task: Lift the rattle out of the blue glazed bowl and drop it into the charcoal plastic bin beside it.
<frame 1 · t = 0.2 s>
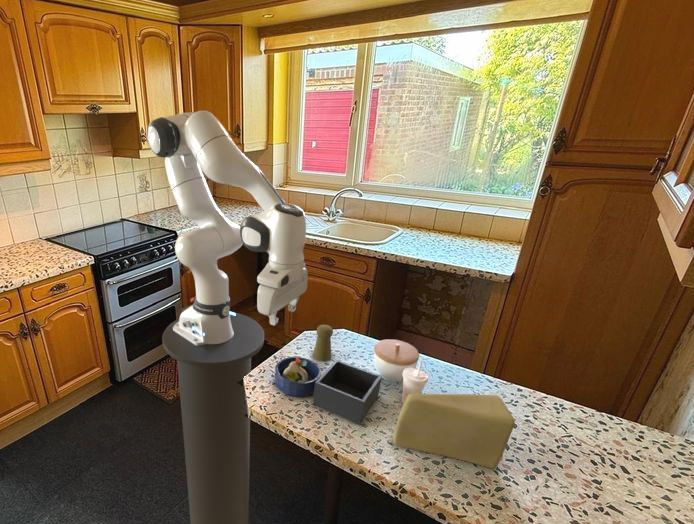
hand: (282, 317, 108), 23 cm above the countertop, tool pointing down, fingers open, 8 cm apart
bin: (345, 401, 112), on the countertop
lidded bowl: (391, 375, 123), on the countertop
smoothie: (408, 403, 111), on the countertop
rattle: (296, 382, 119), resting on toy bowl
toy bowl: (296, 383, 119), on the countertop
cheese: (440, 449, 96), on the countertop
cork: (322, 356, 132), on the countertop
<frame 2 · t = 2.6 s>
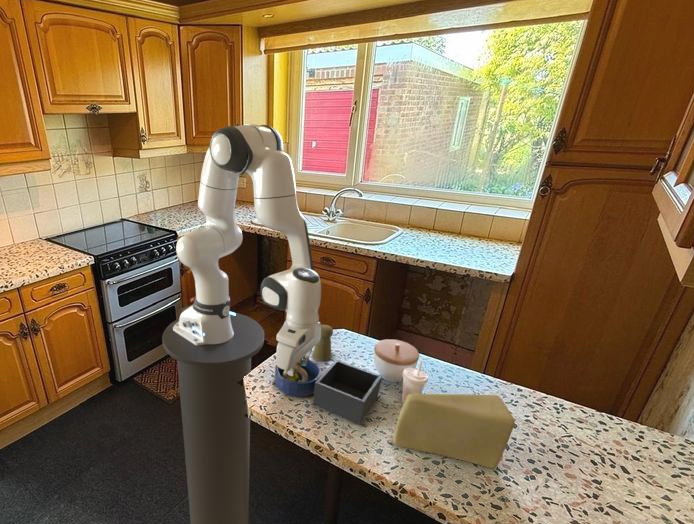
hand: (298, 367, 117), 6 cm above the countertop, tool pointing down, fingers open, 7 cm apart
rattle: (296, 382, 119), resting on toy bowl, touching gripper
everything else where it was.
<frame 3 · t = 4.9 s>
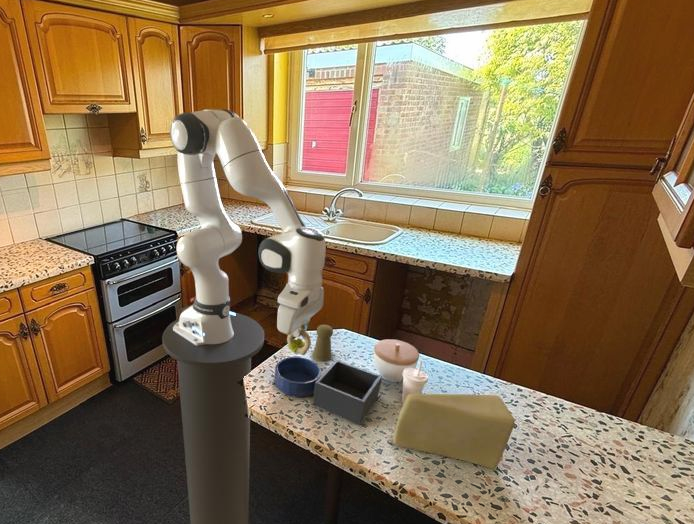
hand: (299, 334, 112), 17 cm above the countertop, tool pointing down, fingers closed on rattle
rattle: (302, 352, 115), point 11 cm above the countertop, touching gripper
everything else where it was.
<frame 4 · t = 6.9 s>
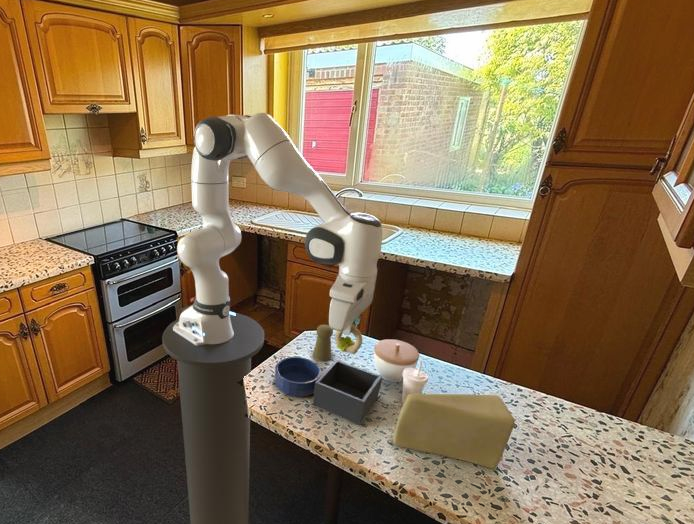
hand: (349, 331, 103), 22 cm above the countertop, tool pointing down, fingers closed on rattle
rattle: (351, 351, 106), point 16 cm above the countertop, touching gripper
everything else where it was.
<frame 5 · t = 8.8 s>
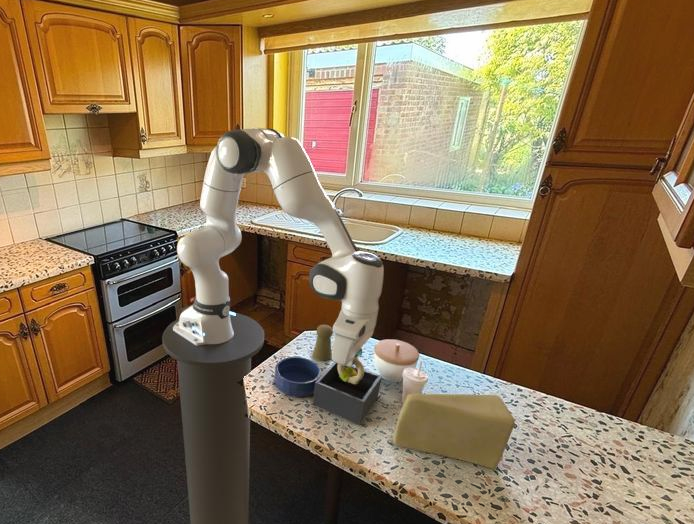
hand: (351, 362, 106), 13 cm above the countertop, tool pointing down, fingers closed on rattle
rattle: (353, 380, 109), point 7 cm above the countertop, touching gripper
everything else where it was.
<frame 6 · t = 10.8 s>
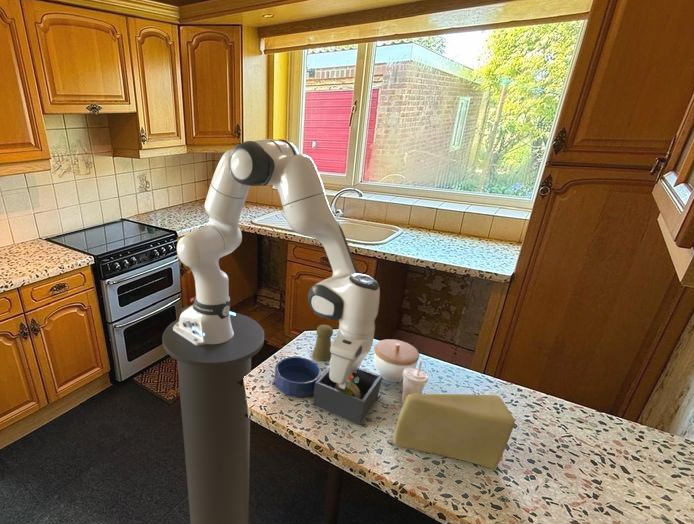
hand: (348, 379, 109), 7 cm above the countertop, tool pointing down, fingers open, 7 cm apart
rattle: (350, 399, 112), resting on bin
everything else where it was.
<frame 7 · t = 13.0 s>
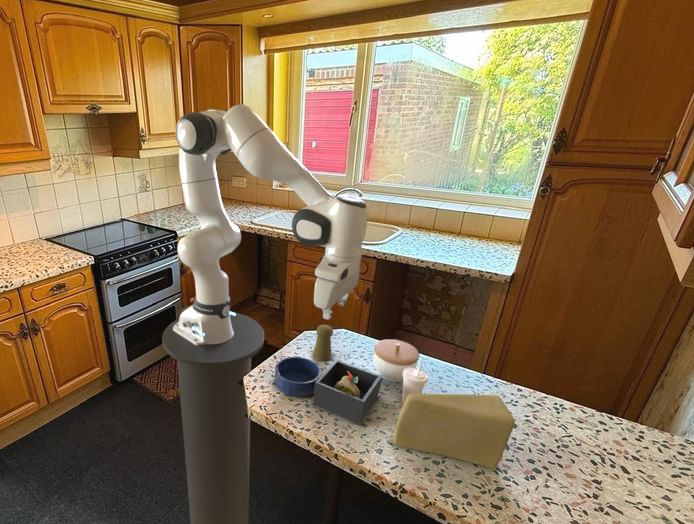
hand: (334, 311, 106), 25 cm above the countertop, tool pointing down, fingers open, 8 cm apart
nothing on the countertop moved.
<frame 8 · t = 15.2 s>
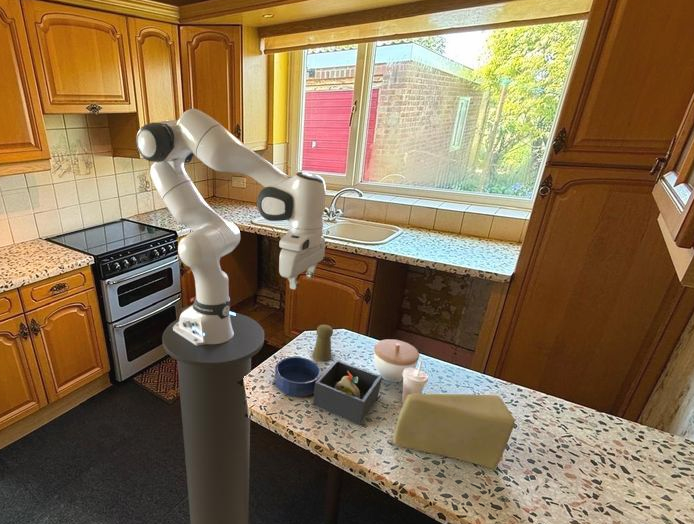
hand: (301, 282, 114), 29 cm above the countertop, tool pointing down, fingers open, 8 cm apart
nothing on the countertop moved.
at the end: rattle inside the target area in the bin (1.2 cm from its centre), point 0.4 cm above the bin's base; the gripper is holding nothing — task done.
